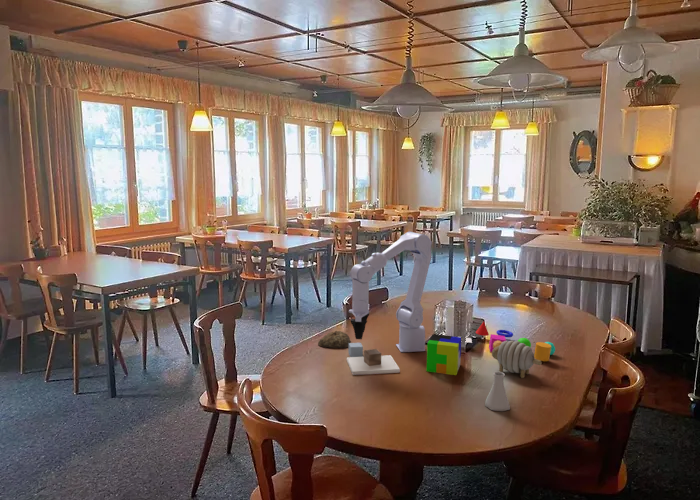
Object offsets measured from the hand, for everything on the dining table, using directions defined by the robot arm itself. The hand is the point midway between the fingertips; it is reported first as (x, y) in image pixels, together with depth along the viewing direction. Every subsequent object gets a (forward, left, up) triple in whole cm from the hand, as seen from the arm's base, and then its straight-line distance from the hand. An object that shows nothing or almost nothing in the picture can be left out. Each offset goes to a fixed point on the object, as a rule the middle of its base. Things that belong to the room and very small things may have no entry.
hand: (360, 335), depth 188 cm
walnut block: (-3, +8, -7) cm, 11 cm away
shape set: (-56, -1, -9) cm, 56 cm away
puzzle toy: (-27, +13, -9) cm, 31 cm away
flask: (-33, +43, -9) cm, 55 cm away
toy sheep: (-49, +21, -9) cm, 54 cm away
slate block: (+1, -3, -8) cm, 9 cm away
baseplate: (-3, +9, -8) cm, 12 cm away
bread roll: (+7, -17, -9) cm, 21 cm away
